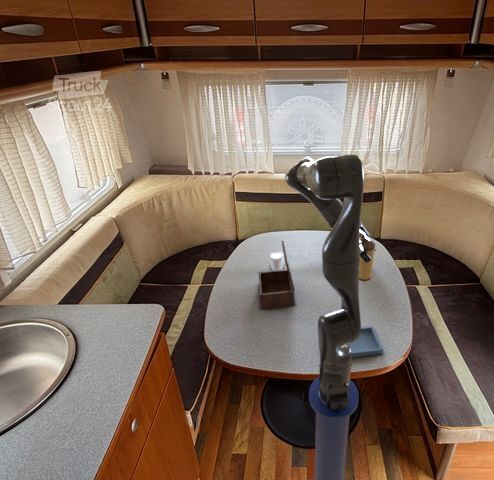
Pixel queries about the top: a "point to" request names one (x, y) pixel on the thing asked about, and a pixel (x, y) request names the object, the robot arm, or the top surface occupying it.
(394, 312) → the top surface
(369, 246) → the cookie roll
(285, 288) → the chest
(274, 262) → the white cylinder
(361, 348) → the tray
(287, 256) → the chest lid
